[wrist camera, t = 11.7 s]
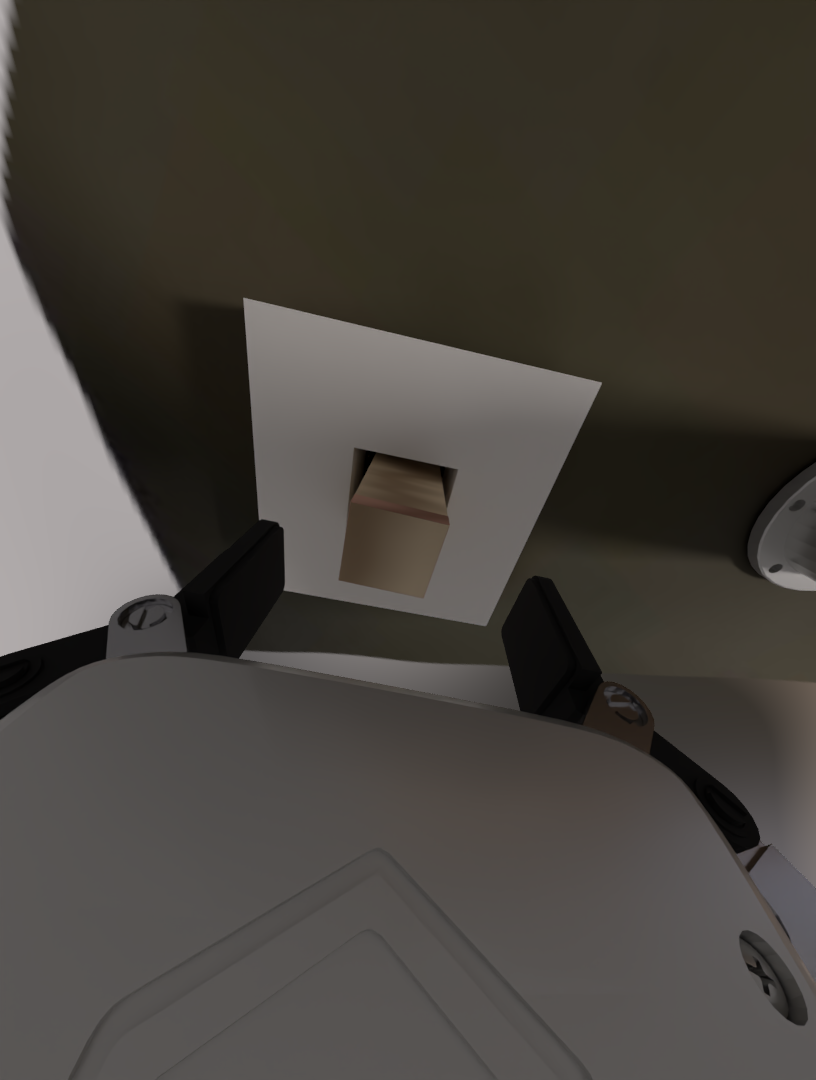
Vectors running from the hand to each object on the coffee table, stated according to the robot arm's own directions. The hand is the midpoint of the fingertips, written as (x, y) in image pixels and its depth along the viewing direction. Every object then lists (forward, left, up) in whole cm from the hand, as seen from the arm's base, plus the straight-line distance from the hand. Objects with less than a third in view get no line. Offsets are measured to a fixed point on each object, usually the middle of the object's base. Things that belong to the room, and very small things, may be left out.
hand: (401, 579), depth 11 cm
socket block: (+1, 0, -12) cm, 12 cm away
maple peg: (+1, 0, -12) cm, 12 cm away
